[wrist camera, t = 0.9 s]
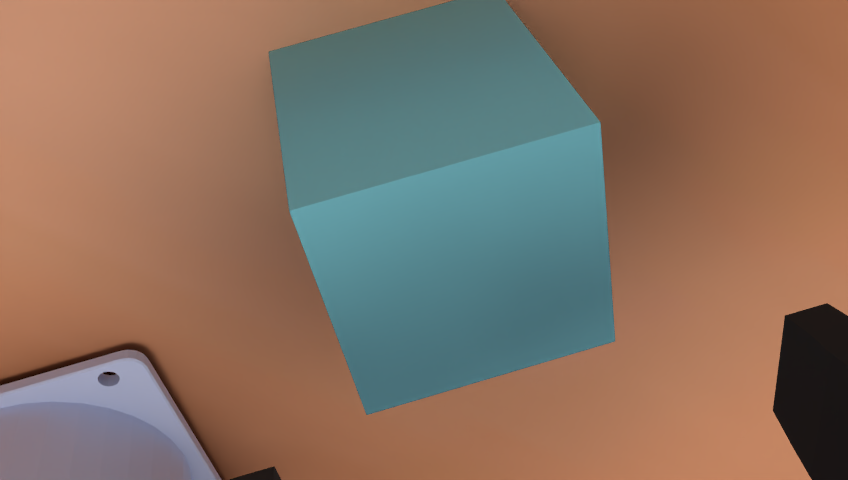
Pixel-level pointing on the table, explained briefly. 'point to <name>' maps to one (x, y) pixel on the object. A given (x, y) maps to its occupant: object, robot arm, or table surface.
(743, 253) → the table surface
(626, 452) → the table surface
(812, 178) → the table surface
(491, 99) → the teal block
